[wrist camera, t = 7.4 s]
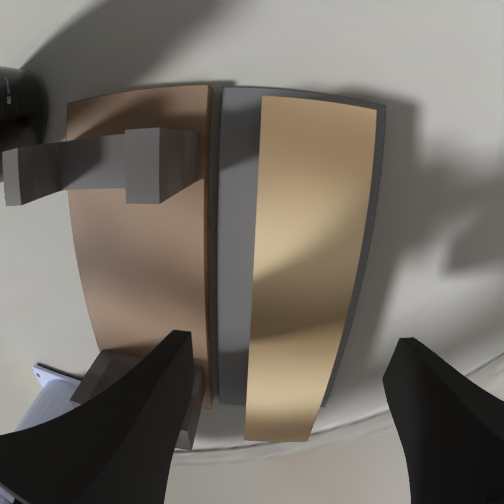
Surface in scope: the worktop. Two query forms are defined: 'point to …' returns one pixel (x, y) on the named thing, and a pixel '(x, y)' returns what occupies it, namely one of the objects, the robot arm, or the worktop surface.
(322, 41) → the worktop surface
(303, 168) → the rail
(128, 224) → the stand
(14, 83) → the supplement bottle
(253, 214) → the mat
